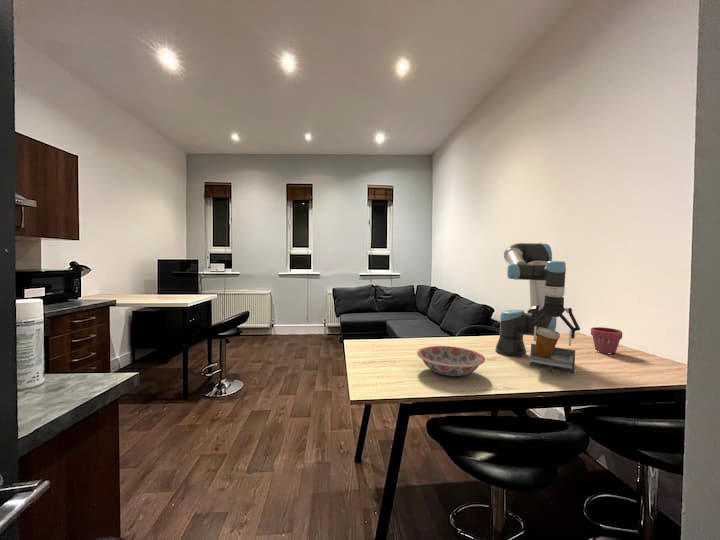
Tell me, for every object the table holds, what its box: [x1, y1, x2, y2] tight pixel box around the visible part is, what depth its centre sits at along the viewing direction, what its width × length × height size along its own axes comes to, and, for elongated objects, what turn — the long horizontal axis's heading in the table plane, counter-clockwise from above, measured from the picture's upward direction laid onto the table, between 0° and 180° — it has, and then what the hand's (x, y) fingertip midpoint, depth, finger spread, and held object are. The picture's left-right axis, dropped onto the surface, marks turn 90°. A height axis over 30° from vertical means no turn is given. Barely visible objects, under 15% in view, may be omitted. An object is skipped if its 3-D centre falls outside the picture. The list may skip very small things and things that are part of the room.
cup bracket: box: [529, 343, 576, 374], centre depth 151 cm, size 18×20×10 cm
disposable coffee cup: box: [535, 327, 561, 358], centre depth 149 cm, size 10×10×12 cm
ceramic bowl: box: [416, 345, 486, 377], centre depth 148 cm, size 29×29×8 cm
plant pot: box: [590, 326, 623, 354], centre depth 185 cm, size 14×14×13 cm
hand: (551, 343), depth 148 cm, fingers open, 13 cm apart
